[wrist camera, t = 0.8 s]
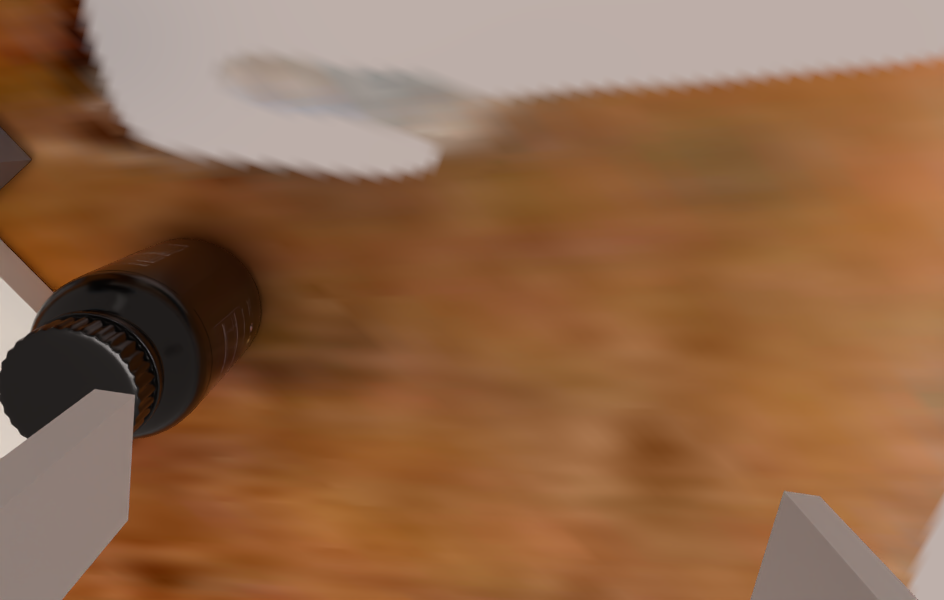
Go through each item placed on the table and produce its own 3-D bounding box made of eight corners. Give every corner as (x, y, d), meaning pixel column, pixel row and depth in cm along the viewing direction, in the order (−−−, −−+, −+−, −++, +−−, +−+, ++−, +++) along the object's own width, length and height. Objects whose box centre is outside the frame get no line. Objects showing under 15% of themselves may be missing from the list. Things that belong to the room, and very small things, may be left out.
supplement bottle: (112, 342, 36) (-58, 447, 24) (146, 216, 34) (-18, 262, 22) (244, 387, 36) (140, 510, 25) (283, 265, 35) (192, 335, 23)
